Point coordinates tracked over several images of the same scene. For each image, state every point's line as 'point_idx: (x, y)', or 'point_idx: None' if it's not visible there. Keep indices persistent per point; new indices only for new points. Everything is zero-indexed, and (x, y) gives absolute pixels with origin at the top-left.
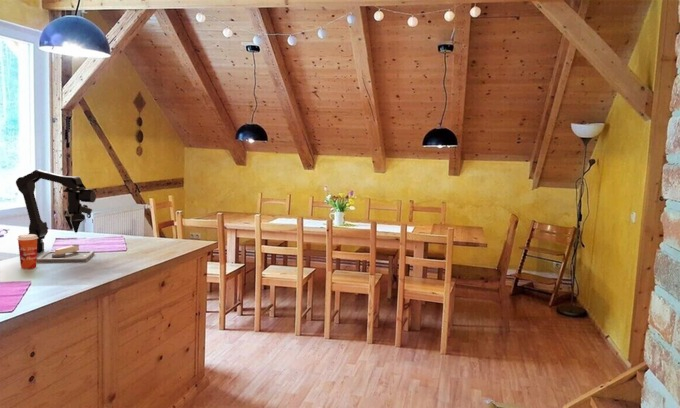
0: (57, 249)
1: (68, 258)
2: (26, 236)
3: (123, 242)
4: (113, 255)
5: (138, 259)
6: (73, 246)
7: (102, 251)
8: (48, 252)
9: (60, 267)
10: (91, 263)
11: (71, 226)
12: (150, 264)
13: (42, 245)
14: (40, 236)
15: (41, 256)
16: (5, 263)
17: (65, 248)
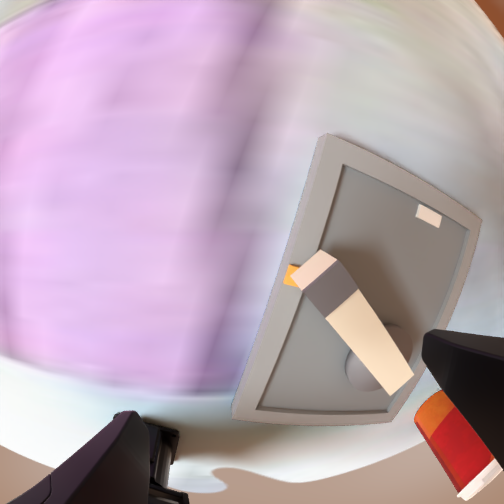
0: (403, 382)
1: (453, 301)
2: (501, 470)
3: (34, 13)
4: (381, 53)
5: (455, 22)
6: (365, 301)
7: (237, 76)
8: (267, 414)
9: (486, 313)
10: (489, 198)
11: (129, 456)
12: (500, 41)
13: (151, 448)
14: (167, 501)
15: (353, 420)
16: (337, 474)
17: (397, 347)
